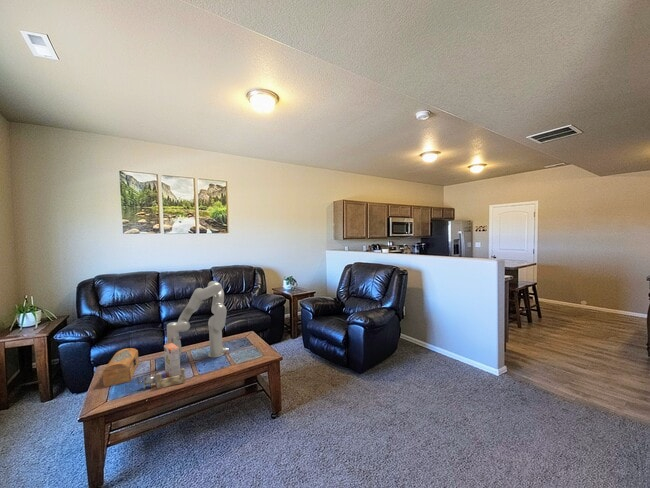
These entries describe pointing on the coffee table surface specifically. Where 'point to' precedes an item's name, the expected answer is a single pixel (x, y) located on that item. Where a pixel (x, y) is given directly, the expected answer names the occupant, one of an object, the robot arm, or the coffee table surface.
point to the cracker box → (172, 360)
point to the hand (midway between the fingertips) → (174, 363)
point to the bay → (170, 380)
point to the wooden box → (121, 367)
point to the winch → (148, 380)
